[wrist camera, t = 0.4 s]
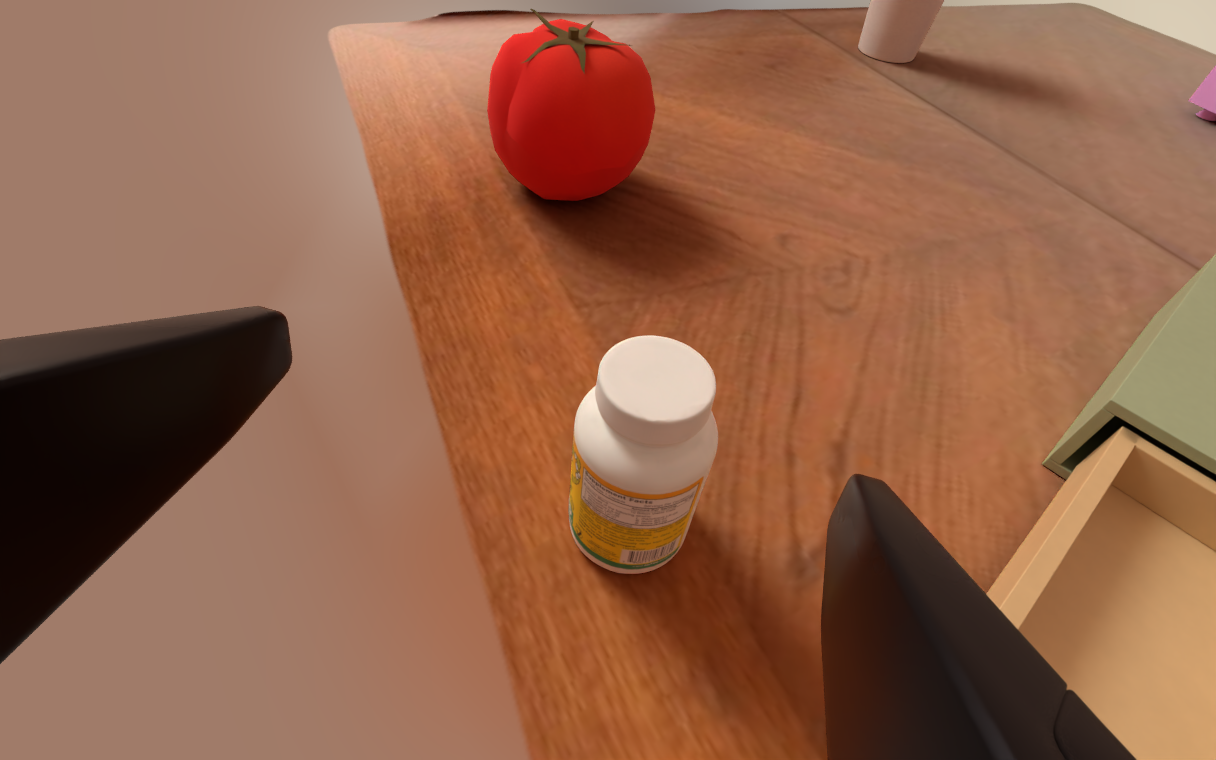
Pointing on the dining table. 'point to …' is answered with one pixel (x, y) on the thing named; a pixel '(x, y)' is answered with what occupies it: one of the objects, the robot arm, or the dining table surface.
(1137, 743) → the drawer
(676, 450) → the supplement bottle
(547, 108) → the tomato
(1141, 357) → the cabinet
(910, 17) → the coffee cup
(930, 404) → the dining table surface
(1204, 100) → the teapot
